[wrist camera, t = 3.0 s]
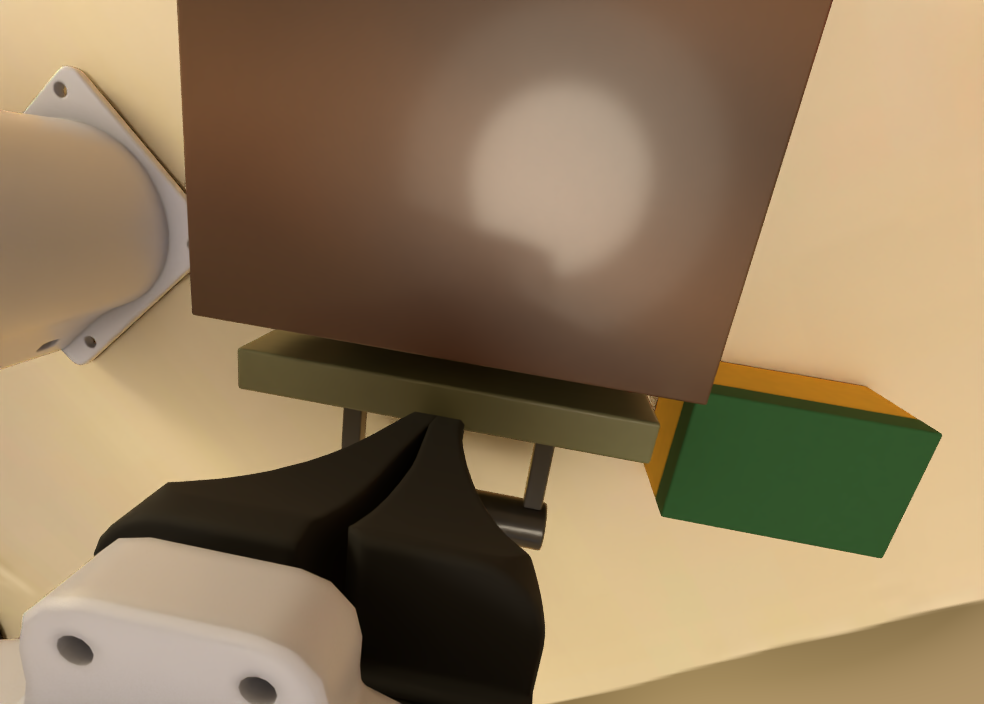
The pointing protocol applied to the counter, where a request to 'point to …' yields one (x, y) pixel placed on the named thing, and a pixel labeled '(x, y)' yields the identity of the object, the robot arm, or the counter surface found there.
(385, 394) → the drawer
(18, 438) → the counter surface
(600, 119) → the cabinet
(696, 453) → the sponge
